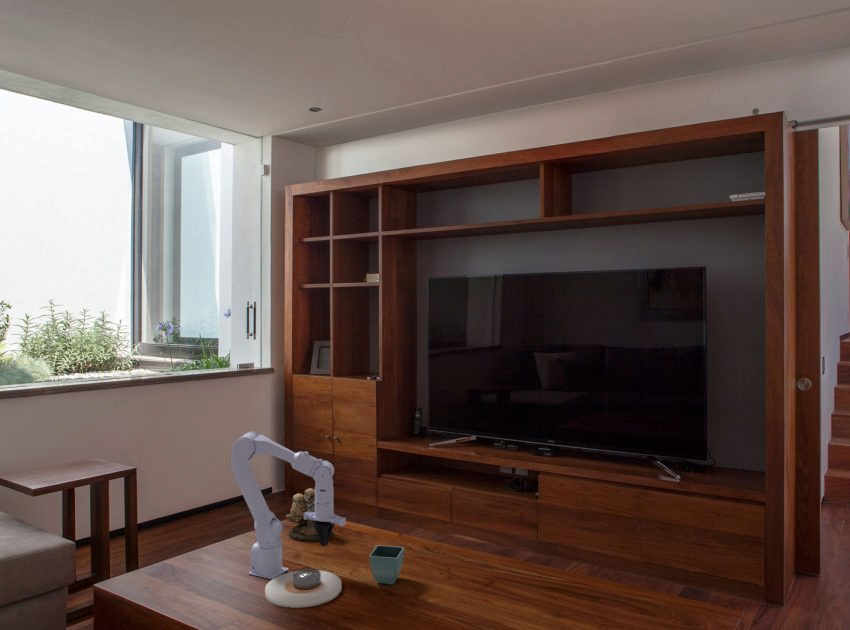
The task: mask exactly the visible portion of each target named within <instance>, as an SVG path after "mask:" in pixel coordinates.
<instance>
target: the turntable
mask: <svg viewBox="0 0 850 630" xmlns="http://www.w3.org/2000/svg"><path fill="white" fill-rule="evenodd" d="M318 570H319V569H318ZM296 571H297V570H296ZM296 571H290V572H287V573H286V572H285V573H282V574H281V575H279V576H277V577H276V578H274V579H270V581H269V582H267V583H266V586H265V588H264V596H265V599H266V600H267V601H268V602H269V603H271V604H272V605H275V606H278V607H283V608H288V607H289V608H292V609H301V608H310V607H315V606H320V605H322V604H325V603H328V602H331V601H332V600H333V599H335V598H337V597H338V596H339V595H340V594H339V593H341V592H342V587H343V585H342V582H343V581H342V579H341V578H340V577H339V576H338V575H337V574H335V573H332V572H329V571H325V570H319V571H320V573H321V584H320V586H319V587H317V588H315V589H311V590H298V589H295V588H294V587H293V574H294V573H295V572H296Z"/></svg>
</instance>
